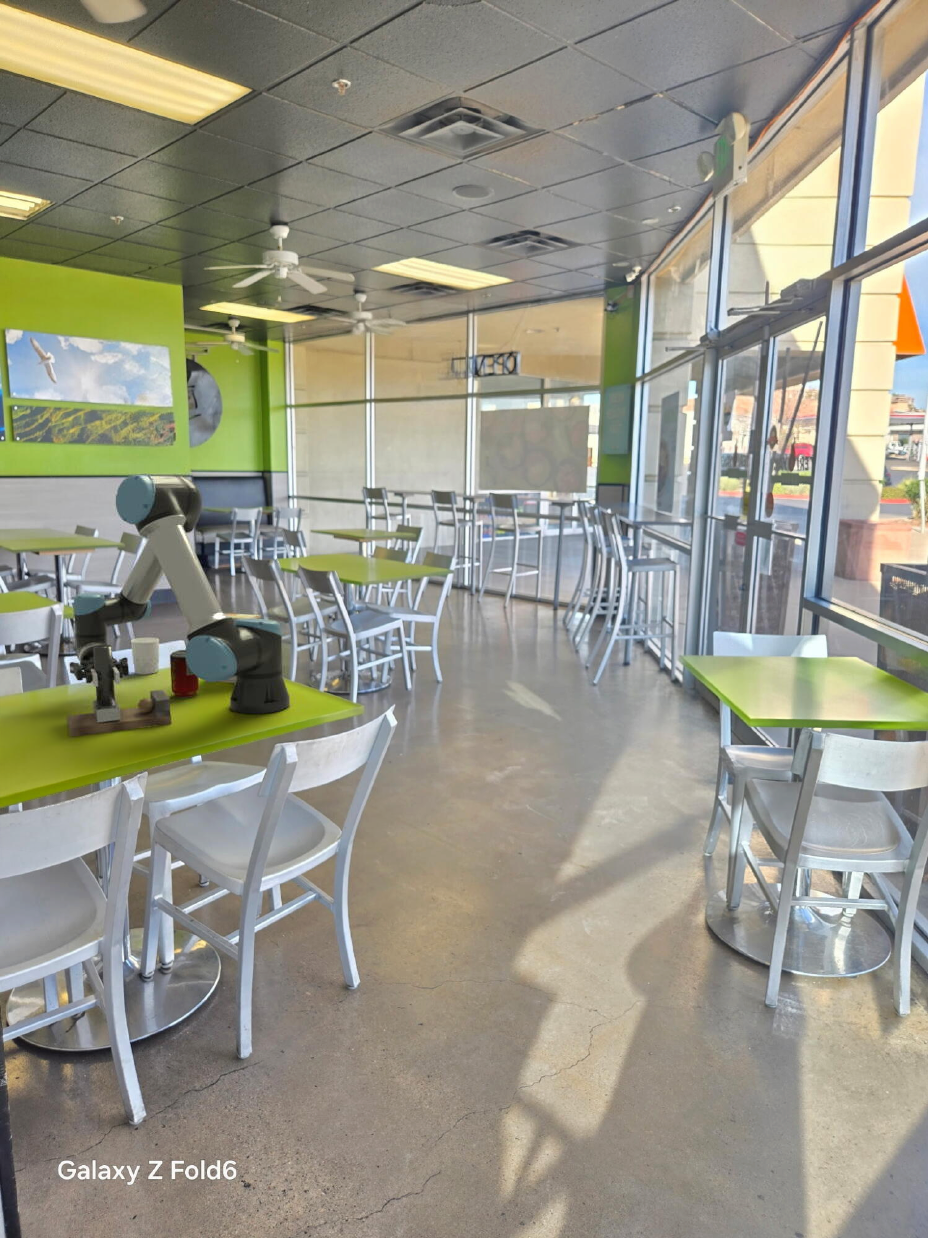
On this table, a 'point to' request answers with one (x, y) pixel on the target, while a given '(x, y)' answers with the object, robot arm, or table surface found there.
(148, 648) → the white cup
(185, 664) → the soda can
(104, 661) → the post
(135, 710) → the nutcracker bench
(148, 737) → the table surface
